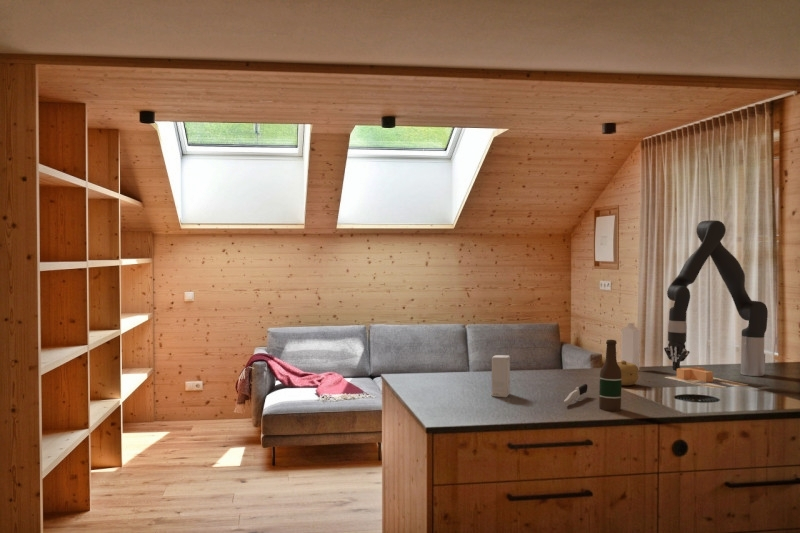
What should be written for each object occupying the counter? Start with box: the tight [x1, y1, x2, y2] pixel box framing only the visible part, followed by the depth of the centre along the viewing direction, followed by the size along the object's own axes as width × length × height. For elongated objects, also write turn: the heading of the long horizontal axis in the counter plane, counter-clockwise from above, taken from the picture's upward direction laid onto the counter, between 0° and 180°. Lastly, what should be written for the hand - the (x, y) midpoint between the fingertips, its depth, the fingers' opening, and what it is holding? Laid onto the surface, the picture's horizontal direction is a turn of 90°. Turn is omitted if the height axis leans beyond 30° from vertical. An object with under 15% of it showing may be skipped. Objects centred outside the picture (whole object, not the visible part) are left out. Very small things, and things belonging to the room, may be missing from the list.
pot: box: [617, 360, 639, 386], centre depth 297 cm, size 12×12×10 cm
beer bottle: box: [598, 339, 622, 412], centre depth 251 cm, size 8×8×24 cm
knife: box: [563, 383, 588, 407], centre depth 262 cm, size 25×2×5 cm, turn 148°
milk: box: [620, 322, 641, 372], centre depth 332 cm, size 6×6×22 cm
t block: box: [676, 366, 714, 382], centre depth 306 cm, size 12×12×4 cm
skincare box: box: [491, 354, 511, 398], centre depth 272 cm, size 8×6×15 cm
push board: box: [664, 375, 748, 389], centre depth 302 cm, size 20×26×1 cm
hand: (676, 370), depth 317 cm, fingers closed
